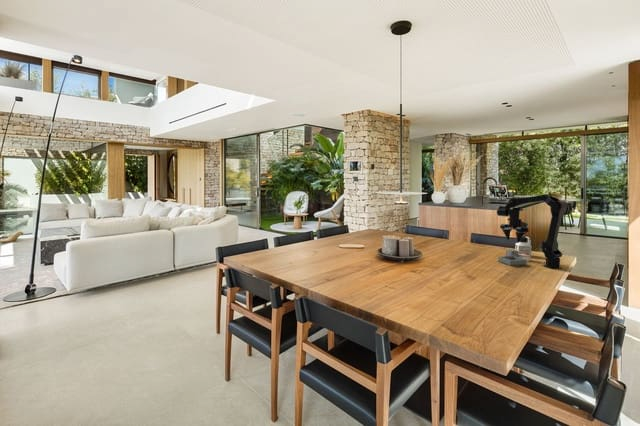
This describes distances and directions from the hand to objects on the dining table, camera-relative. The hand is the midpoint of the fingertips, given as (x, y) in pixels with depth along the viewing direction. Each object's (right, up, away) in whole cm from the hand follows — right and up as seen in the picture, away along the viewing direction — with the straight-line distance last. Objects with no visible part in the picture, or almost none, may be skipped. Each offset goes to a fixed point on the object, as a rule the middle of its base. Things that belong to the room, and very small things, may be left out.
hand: (513, 241), depth 213 cm
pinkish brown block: (+6, -12, -1) cm, 14 cm away
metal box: (-1, -12, +1) cm, 12 cm away
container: (+13, -11, +11) cm, 20 cm away
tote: (-7, -13, -10) cm, 18 cm away
